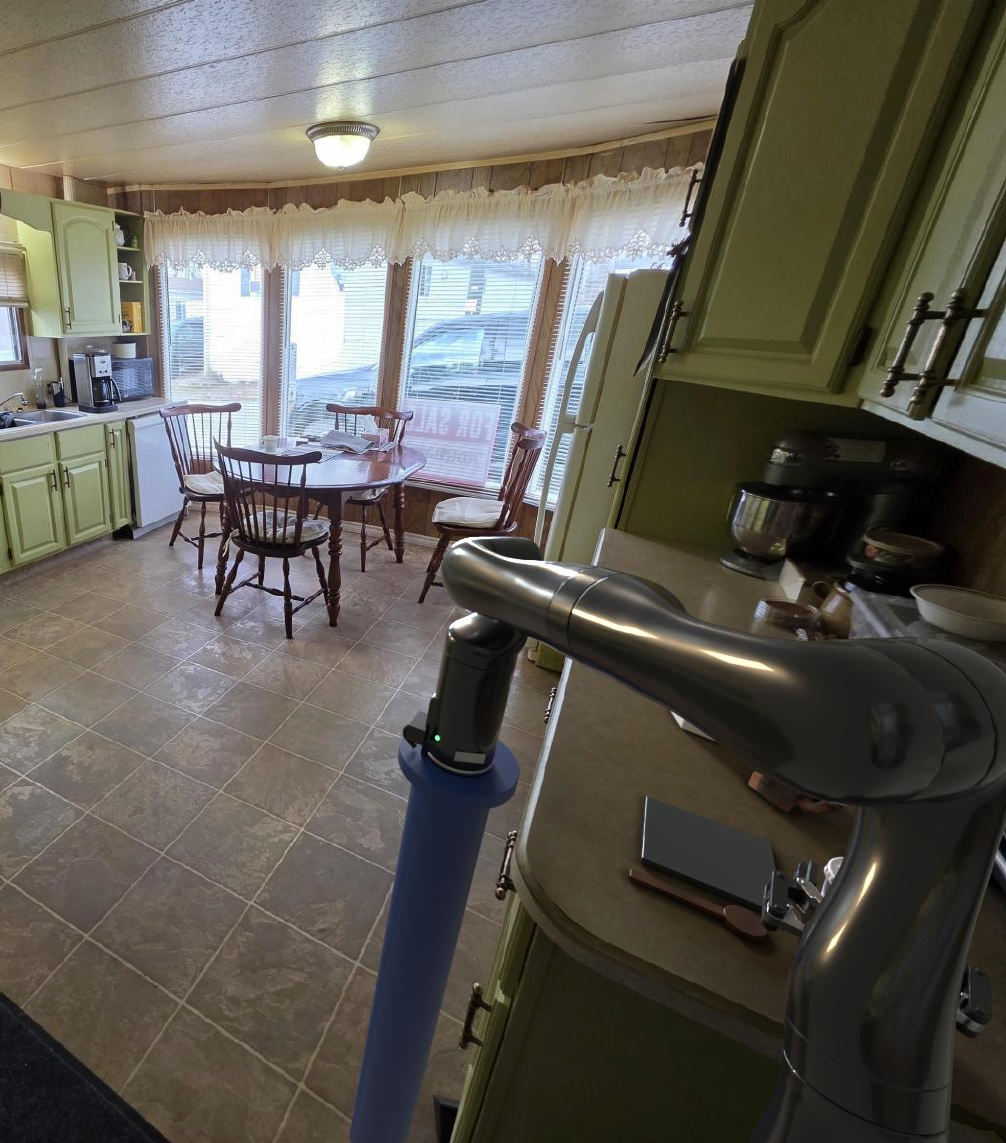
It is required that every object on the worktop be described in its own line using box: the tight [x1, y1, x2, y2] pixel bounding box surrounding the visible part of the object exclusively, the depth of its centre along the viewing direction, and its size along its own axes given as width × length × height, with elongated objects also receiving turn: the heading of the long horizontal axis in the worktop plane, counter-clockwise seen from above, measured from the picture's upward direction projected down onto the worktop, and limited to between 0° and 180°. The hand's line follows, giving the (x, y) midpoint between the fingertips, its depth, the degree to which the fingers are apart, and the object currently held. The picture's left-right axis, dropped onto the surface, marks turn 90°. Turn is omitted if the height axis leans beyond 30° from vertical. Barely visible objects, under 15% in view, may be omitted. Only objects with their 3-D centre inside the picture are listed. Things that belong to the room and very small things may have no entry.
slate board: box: [640, 796, 777, 913], centre depth 72 cm, size 13×12×1 cm
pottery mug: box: [747, 770, 845, 816], centre depth 80 cm, size 12×10×8 cm
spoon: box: [628, 868, 768, 942], centre depth 66 cm, size 12×4×1 cm, turn 56°
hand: (868, 895), depth 59 cm, fingers open, 8 cm apart
